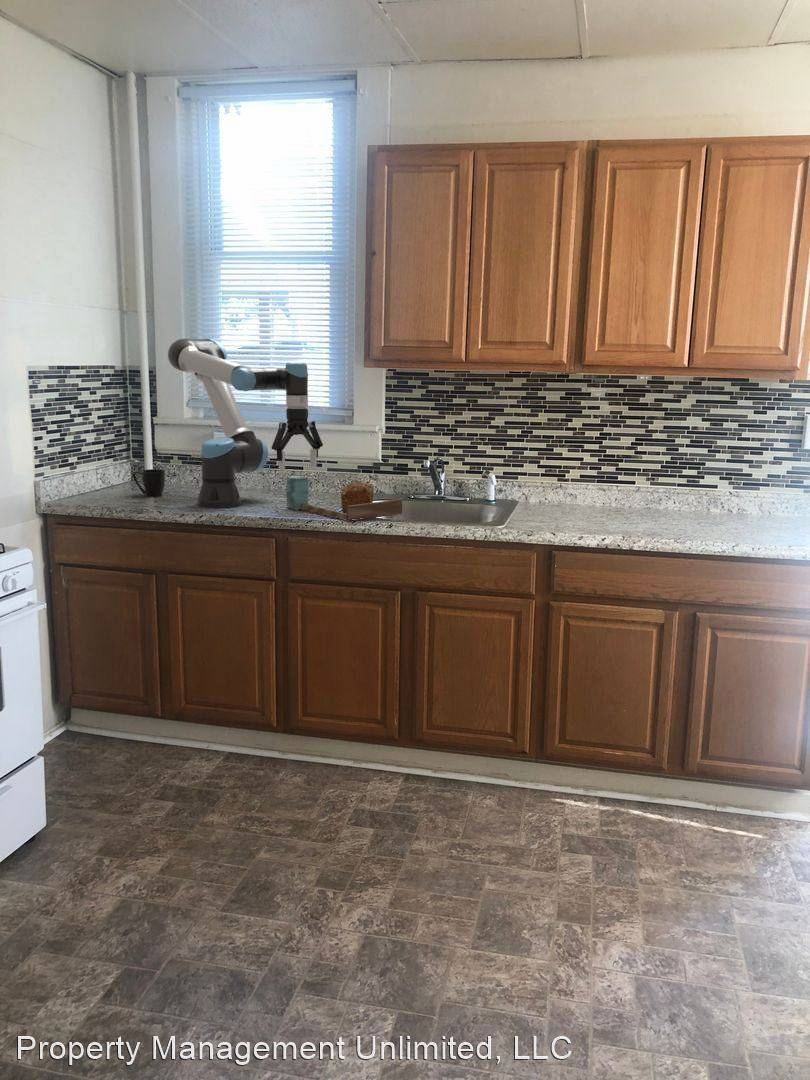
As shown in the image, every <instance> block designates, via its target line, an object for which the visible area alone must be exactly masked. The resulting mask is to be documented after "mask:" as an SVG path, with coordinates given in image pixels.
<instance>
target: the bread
mask: <svg viewBox="0 0 810 1080" xmlns="http://www.w3.org/2000/svg"><path fill="white" fill-rule="evenodd" d="M340 496H341V498H340V499H341V510H342V512H341V513H345V514H347V506H350V505H358V504H366V503H374V502H373V499H374V486H373V484H371V483H367V482H362V481H361V482H359V481H358V482H351V483H347V484H346V485H345V486H343V488H341V495H340Z"/></svg>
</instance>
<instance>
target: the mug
mask: <svg viewBox="0 0 810 1080" xmlns="http://www.w3.org/2000/svg"><path fill="white" fill-rule="evenodd" d="M136 474H140V475H142V483H143V486H144V488H143V487H142V486H141V484H140V483H139V481H138V480H137V476H136ZM132 478H133V481H134V483H136V485H137V487H138V488H139V490H140V491H141V492H142V493H143V494H144V495H146V497H150V498H155V497H156V498H157V497H162V496H163V493H164V489H165V483H166V470H164V469H159V468H158V469H157V468H156V469H155V468H152V469H150V468H149V469H145V470H144V469H143V470H142V471H134V472H133V473H132Z"/></svg>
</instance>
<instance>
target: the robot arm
mask: <svg viewBox="0 0 810 1080" xmlns="http://www.w3.org/2000/svg"><path fill="white" fill-rule="evenodd" d="M227 353H228V352H227V350H226V348H225V346H224V345H223V344H222V343H221V342H220V341H218V340H216V339H210V338H200V339H199V338H181V339H180V338H179V339H177V340H175V341H174V342H172V343H171V345H170V346H169V348H168V350H167V359H168V361H169V363H170V365H171V366H172V368H174V369H176V370H179V371H180V372H184V373H189V374H190V373H194V375H195V378H196V379H197V381H199V382H202V384H203V387H204V389H205V392H206V393H207V395H208V398H209V401H210V402H211V405H212V407H213V410H214V411H215V415H216V417H217V419H218V422H219V423H220V426H221V428H222V430H223V433H224V435H225V437H220V438H218V437H217V438H212V439H208V440H207V439H206V441H204V442H203V443H202V444H201V452H200V456H201V481H202V482H201V486H200V491H199V493H198V496H197V505H198V506H199V507H203V506H205V507H204V508H213V507H223V508H231V507H237V506H240V505H241V497H240V493H239V489H238V487H237V485H236V474H243V473H253V472H257V471H259V470H262V469H263V468H264V467H265V466H266V464H267V462H268V458H269V449H268V445H267V444H266V442H265V441H264V440H263V439H260V438H257V436H256V435H255V431H253V430H252V429H249V428H248V425H247V424H246V420H245V418H244V417H243V415H242V412H241V410H240V407H239V405H238V402H237V400H236V398H235V396H234V393H233V391H232V389H231V386H232V387H233V388H234V389H235V390H236V391H242V392H249V391H271V390H273V391H274V390H279V391H280V390H281V391H284V390H285V405H286V407H287V408H286V410H285V412H286V413H285V414H286V417H285V418H286V421H287V422H284V421H283V422H282V421H280V422H279V424H278V430H277V433H276V435H275V437H274V440H273V442H272V444H271V450H274V452H276V461H278V471H282V472H283V471H285V470H286V461H285V460H286V456H285V455H286V452H285V451H284V449H285V447H287V445H288V443H289V442H290V440H291V438H293V437H294V436H299V435H302V436H303V437H304V438H305V440H306V441H307V443H308V444H309V445H310V447H311V448H309V454H310V456H309V457H310V463H309V464H310V468H315V469H316V468H318V467H317V465H318V463H317V460H318V459H317V458H319V450H320V449H321V448H322V447H323V445H324V443H323V442H322V439H321V437H320V435H319V431H318V429H317V426H316V421H314V420H309V421H308V418H309V409H308V408H307V407H309V394H308V393H309V392H308V389H309V384H308V383H309V380H308V379H309V378H308V377H309V373H308V365H307V363H305V362H287V363H285V367H284V368H283V367H250V366H249V367H248V366H246V365H243V364H239V363H236V362H234V361H232V360H231V361H230V360H228V359H227V358H228V354H227ZM230 385H231V386H230ZM286 429H287V430H286ZM308 429H309V430H308ZM310 433H311V434H310Z"/></svg>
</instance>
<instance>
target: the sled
mask: <svg viewBox="0 0 810 1080" xmlns="http://www.w3.org/2000/svg"><path fill="white" fill-rule="evenodd" d="M286 508H287V509H291V510H294V509H295V511H298V510H299V509H302V511H305V510H306V511H307V512H309V511H310V512H309V513H313V512H314V513H313V514H317V513H318V515H321V514H322V516H325V515H327V516H326V517H329V516H332V517H331V518H333V517H337V518H342V519H346V520H352V519H360V518H366V519H365V520H368V519H374V518H375V519H376V518H382V517H389V516H397V515H402V514H403V499H392V500H384V501H383V500H382V501H378V502H377V501H376V502H372V503H366V504H358V505H350V506H347V514H345V513H342V512H341V511H336V510H334V509H333V510H332V509H328V508H324V507H320V506H317V505H311V504H309V478H308V477H306V476H300V475H291V476H286ZM306 511H305V512H306ZM337 518H336V519H337ZM346 520H345V521H346Z"/></svg>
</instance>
